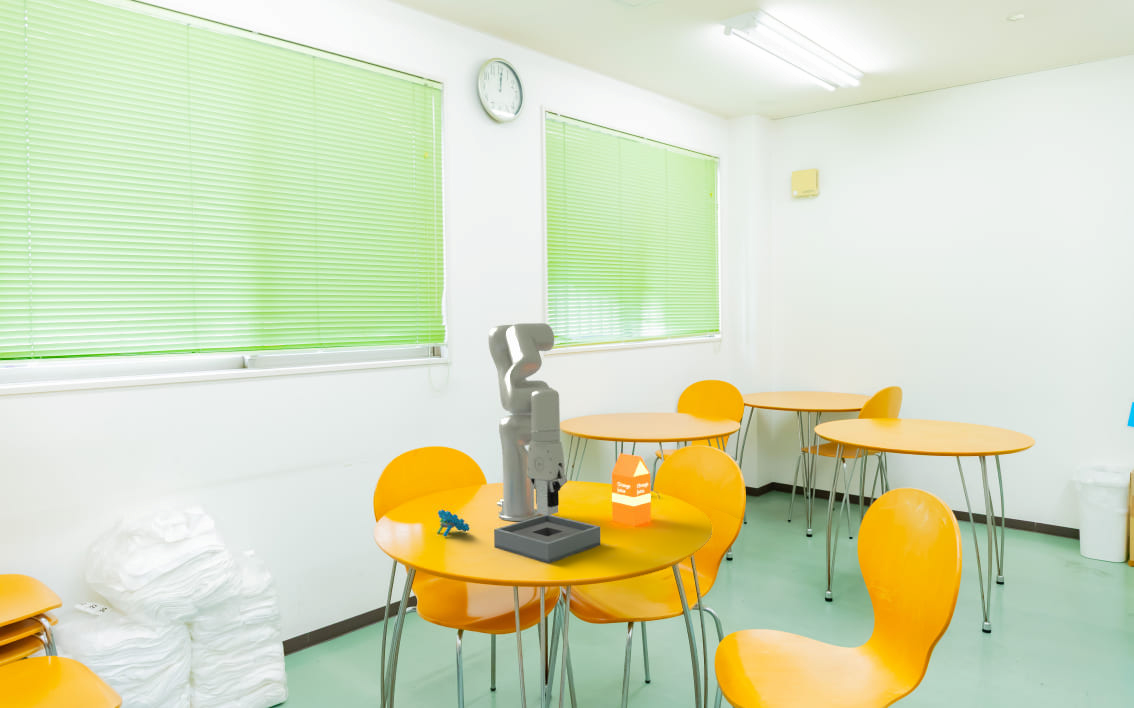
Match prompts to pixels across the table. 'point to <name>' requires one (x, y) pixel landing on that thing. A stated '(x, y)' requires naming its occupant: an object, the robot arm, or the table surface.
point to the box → (547, 538)
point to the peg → (544, 498)
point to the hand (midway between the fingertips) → (547, 504)
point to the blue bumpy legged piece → (451, 522)
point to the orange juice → (631, 491)
